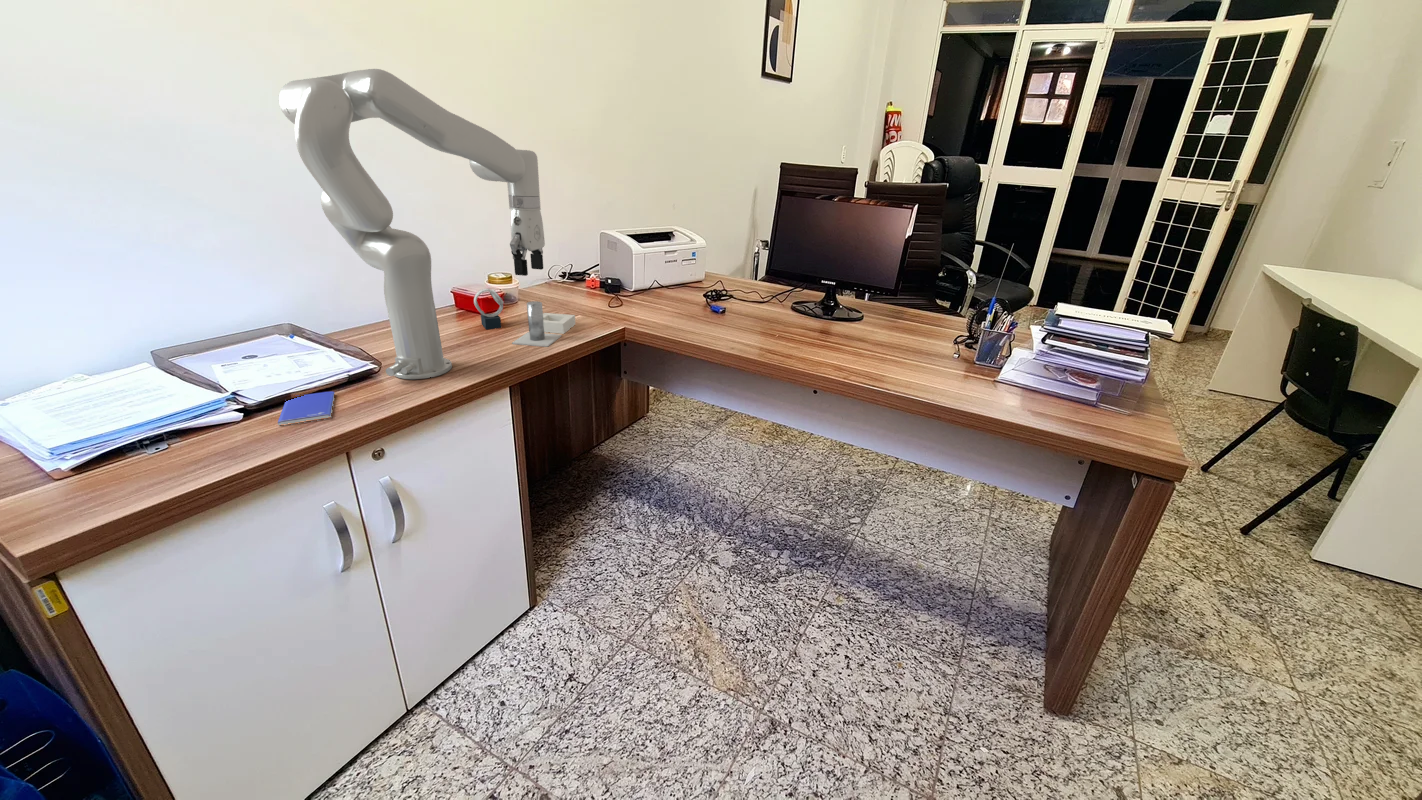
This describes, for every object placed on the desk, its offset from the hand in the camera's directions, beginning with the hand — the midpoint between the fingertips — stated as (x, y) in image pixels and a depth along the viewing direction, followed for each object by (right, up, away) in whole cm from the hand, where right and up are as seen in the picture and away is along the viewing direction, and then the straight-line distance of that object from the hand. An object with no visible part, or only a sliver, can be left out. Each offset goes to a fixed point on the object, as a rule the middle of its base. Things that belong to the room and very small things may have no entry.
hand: (529, 272), depth 146 cm
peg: (0, -17, +8) cm, 18 cm away
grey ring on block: (-17, -12, +18) cm, 28 cm away
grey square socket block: (+1, -12, +19) cm, 23 cm away
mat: (0, -17, +8) cm, 19 cm away
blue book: (-32, -36, -36) cm, 60 cm away
